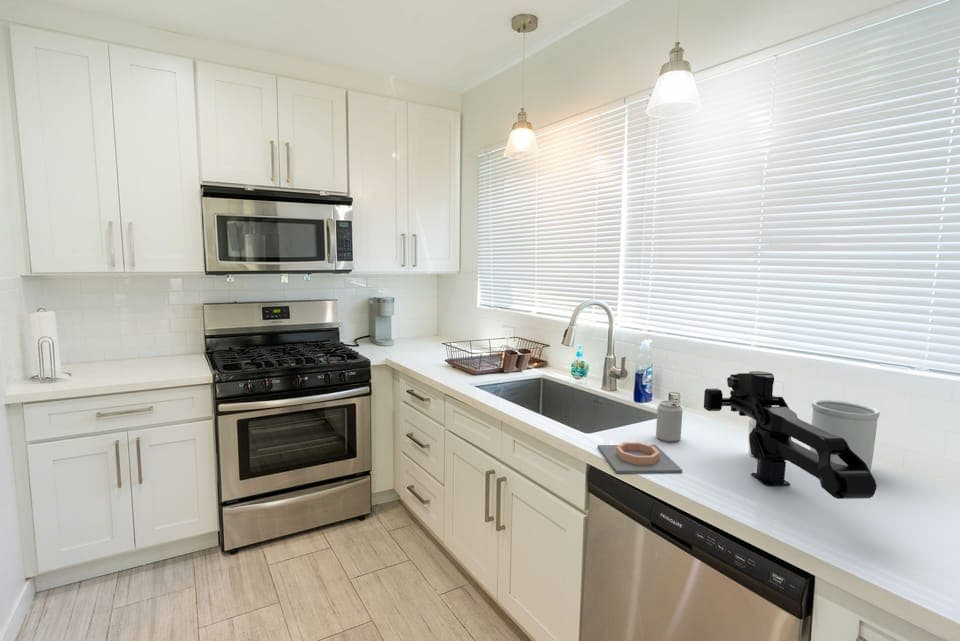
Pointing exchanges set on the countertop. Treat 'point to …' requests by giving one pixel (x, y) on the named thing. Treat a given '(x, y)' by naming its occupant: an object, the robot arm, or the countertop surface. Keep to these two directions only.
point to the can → (669, 421)
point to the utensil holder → (848, 426)
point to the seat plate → (638, 458)
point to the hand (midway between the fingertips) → (721, 392)
